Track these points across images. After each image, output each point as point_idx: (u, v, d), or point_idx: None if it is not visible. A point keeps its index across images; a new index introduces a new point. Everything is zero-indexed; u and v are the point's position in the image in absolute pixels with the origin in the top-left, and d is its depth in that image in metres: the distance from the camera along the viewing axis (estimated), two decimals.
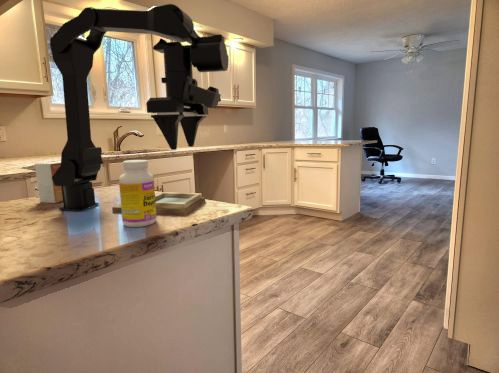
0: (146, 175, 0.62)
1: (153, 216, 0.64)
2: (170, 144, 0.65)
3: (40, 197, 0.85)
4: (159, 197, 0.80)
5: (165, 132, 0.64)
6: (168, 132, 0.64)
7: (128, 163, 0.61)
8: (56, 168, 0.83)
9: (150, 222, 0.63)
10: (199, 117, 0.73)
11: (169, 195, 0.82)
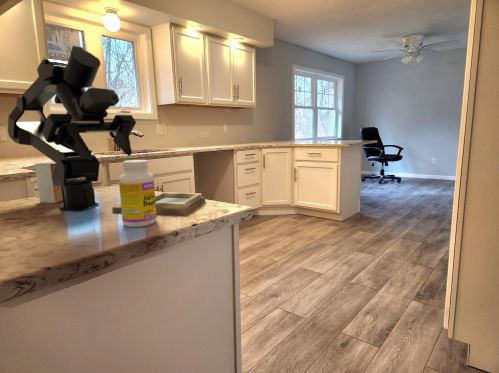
0: (146, 175, 0.62)
1: (153, 216, 0.64)
2: (85, 155, 0.64)
3: (40, 197, 0.85)
4: (159, 197, 0.80)
5: (75, 149, 0.64)
6: (76, 146, 0.64)
7: (128, 163, 0.61)
8: None
9: (150, 222, 0.63)
10: (121, 125, 0.72)
11: (169, 195, 0.82)
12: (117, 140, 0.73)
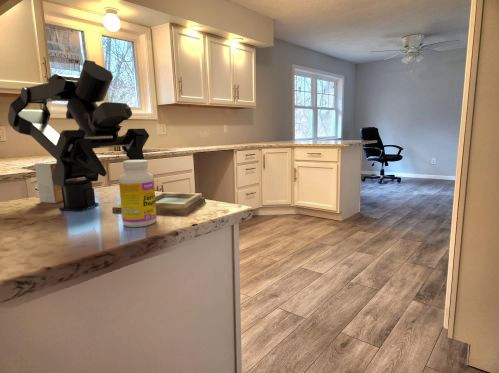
0: (146, 175, 0.62)
1: (153, 216, 0.64)
2: (99, 172, 0.61)
3: (40, 197, 0.85)
4: (159, 197, 0.80)
5: (88, 165, 0.62)
6: (90, 163, 0.62)
7: (128, 163, 0.61)
8: None
9: (150, 222, 0.63)
10: (135, 139, 0.70)
11: (169, 195, 0.82)
12: (130, 154, 0.71)
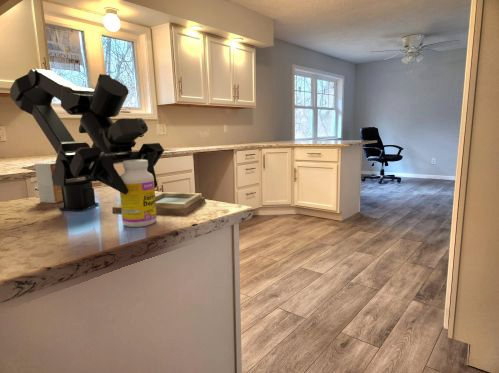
0: (146, 175, 0.62)
1: (153, 216, 0.64)
2: (120, 190, 0.60)
3: (40, 197, 0.85)
4: (159, 197, 0.80)
5: (110, 183, 0.61)
6: (111, 181, 0.60)
7: (128, 163, 0.61)
8: None
9: (150, 222, 0.63)
10: (145, 155, 0.67)
11: (169, 195, 0.82)
12: None
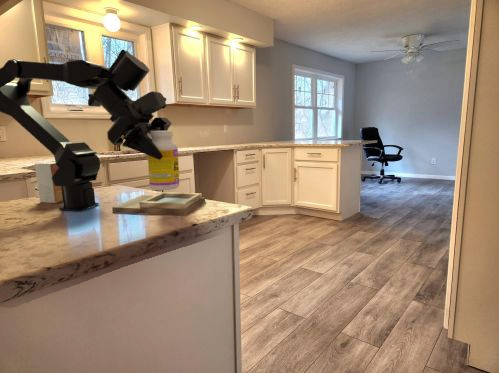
0: (174, 143, 0.70)
1: (178, 180, 0.72)
2: (155, 156, 0.67)
3: (40, 197, 0.85)
4: (159, 197, 0.80)
5: (144, 149, 0.67)
6: (145, 147, 0.67)
7: (160, 132, 0.68)
8: (56, 168, 0.83)
9: (177, 185, 0.72)
10: (162, 127, 0.74)
11: (169, 195, 0.82)
12: None
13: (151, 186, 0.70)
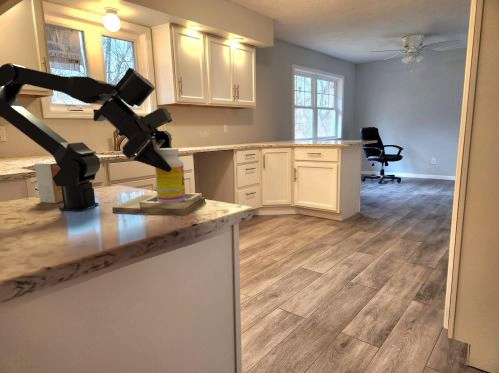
0: (181, 160, 0.76)
1: None
2: (165, 168, 0.71)
3: (40, 197, 0.85)
4: None
5: (154, 163, 0.70)
6: (156, 161, 0.70)
7: (169, 150, 0.73)
8: (56, 168, 0.83)
9: (184, 198, 0.77)
10: (167, 140, 0.80)
11: None
12: None
13: (160, 201, 0.74)
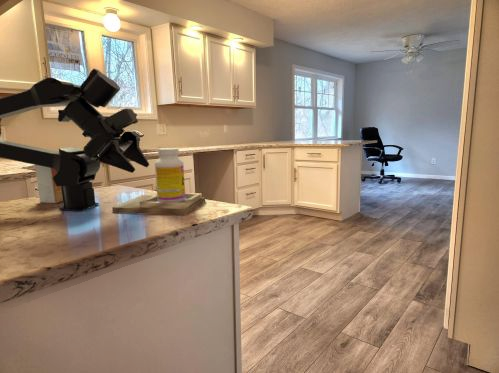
0: (181, 160, 0.76)
1: None
2: (128, 169, 0.71)
3: (40, 197, 0.85)
4: None
5: (116, 164, 0.70)
6: (118, 162, 0.70)
7: (169, 150, 0.73)
8: None
9: (184, 198, 0.77)
10: (135, 141, 0.80)
11: None
12: (128, 154, 0.81)
13: (160, 201, 0.74)
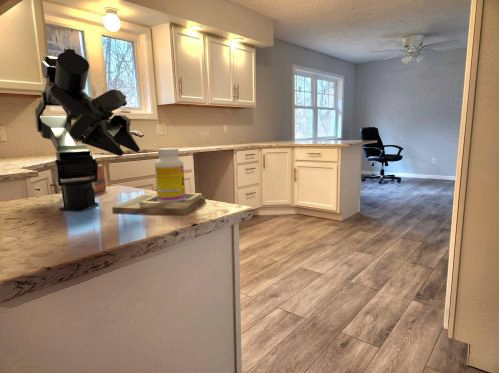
0: (181, 160, 0.76)
1: None
2: (116, 152, 0.68)
3: None
4: None
5: (104, 146, 0.67)
6: (106, 144, 0.67)
7: (169, 150, 0.73)
8: (100, 170, 0.98)
9: (184, 198, 0.77)
10: (124, 125, 0.77)
11: None
12: (118, 139, 0.77)
13: (160, 201, 0.74)
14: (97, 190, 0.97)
